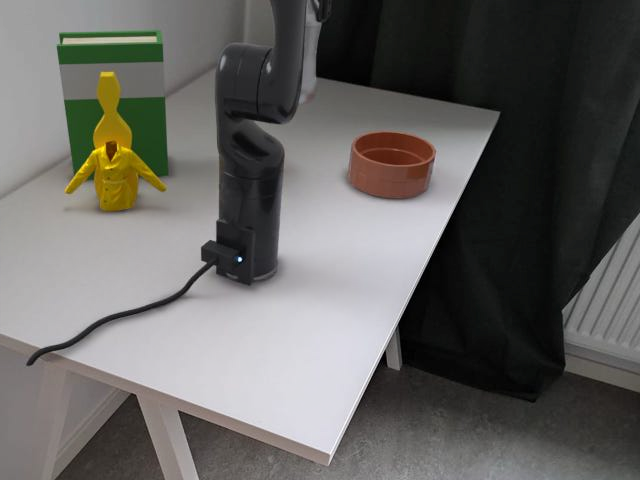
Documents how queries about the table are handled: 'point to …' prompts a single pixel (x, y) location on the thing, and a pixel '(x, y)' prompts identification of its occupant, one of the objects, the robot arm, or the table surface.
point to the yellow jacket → (113, 155)
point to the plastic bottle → (310, 52)
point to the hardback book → (135, 97)
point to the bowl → (391, 164)
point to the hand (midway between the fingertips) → (303, 17)
